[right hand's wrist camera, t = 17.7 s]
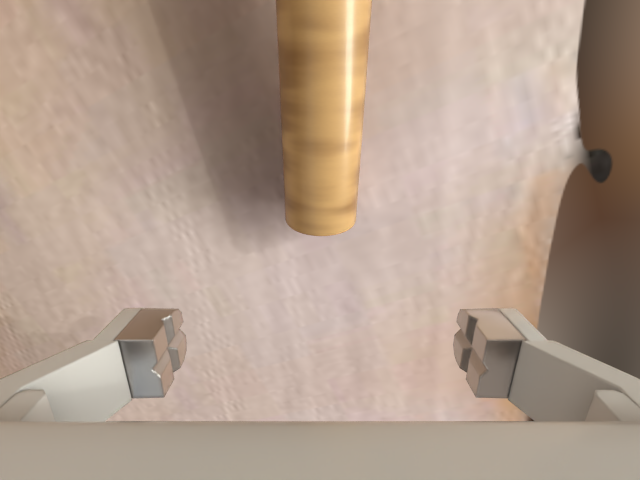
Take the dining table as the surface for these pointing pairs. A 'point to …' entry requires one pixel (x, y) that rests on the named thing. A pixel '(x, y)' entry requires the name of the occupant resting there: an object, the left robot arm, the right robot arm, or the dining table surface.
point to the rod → (322, 109)
